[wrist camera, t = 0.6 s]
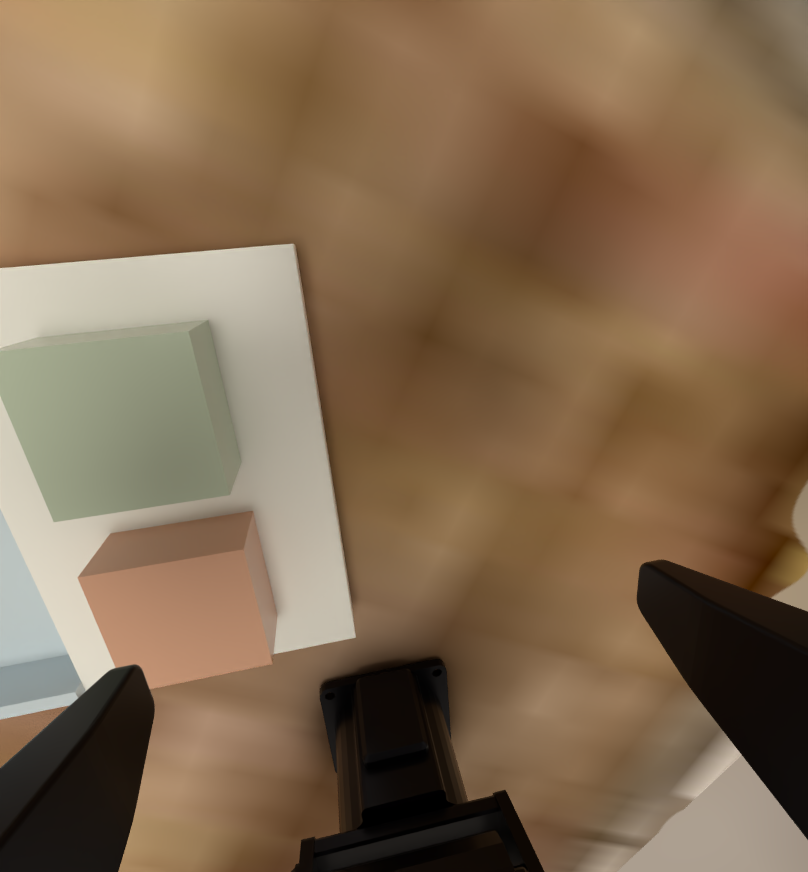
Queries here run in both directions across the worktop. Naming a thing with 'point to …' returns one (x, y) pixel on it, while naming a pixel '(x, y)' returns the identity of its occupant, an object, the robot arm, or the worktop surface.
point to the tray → (29, 642)
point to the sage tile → (121, 418)
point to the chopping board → (251, 416)
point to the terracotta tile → (184, 598)
